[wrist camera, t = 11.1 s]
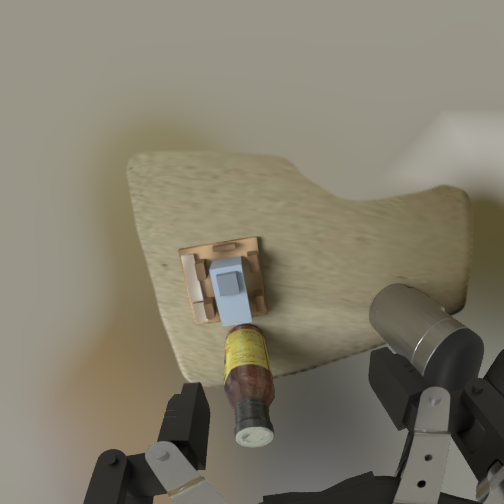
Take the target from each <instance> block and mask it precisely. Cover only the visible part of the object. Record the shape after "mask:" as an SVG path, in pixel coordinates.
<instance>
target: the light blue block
mask: <svg viewBox="0 0 504 504" xmlns="http://www.w3.org/2000/svg"><path fill="white" fill-rule="evenodd" d="M209 272H210V276H211V281H212V285H213V289H214V294H215V298H216V302H217V307H218V311H219V315H220V319H221V323H222V327H224V326H231V325H237V324H244V323H250V322H252V315H251V307H250V301H249V296H248V291H247V286H246V280H245V275H244V270H243V264H242V259H241V256H236V257H231V258H225V259H219V260H214V261H212V263H211V266H210V269H209Z"/></svg>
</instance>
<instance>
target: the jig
mask: <svg viewBox="0 0 504 504" xmlns="http://www.w3.org/2000/svg"><path fill="white" fill-rule="evenodd" d="M178 252H179V257H180V261H181V266H182V270H183V275H184V279H185V283H186V288H187V292H188V296H189V300H190V304H191V308H192V312H193V316H194V320H195V323H196V324H199V323H207V322H215V321H221V319H220V315H219V311H218V307H217V302H216V298H215V294H214V289H213V285H212V281H211V276H210V272H209V269H210V266H211V263H212V261H214V260H219V259H225V258H231V257H236V256H241V259H242V264H243V270H244V275H245V280H246V286H247V291H248V296H249V301H250V307H251V315H252V316H256V315H262V314H268V311H267V304H266V297H265V291H264V284H263V277H262V271H261V264H260V257H259V251H258V244H257V238H256V236H255V237H249V238H242V239H236V240H230V241H224V242H218V243H212V244H206V245H200V246H194V247H188V248H182V249H179V250H178Z"/></svg>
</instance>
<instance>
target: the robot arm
mask: <svg viewBox="0 0 504 504" xmlns="http://www.w3.org/2000/svg"><path fill="white" fill-rule="evenodd" d="M370 322H371V325H372V326H373V328H374V329H375V330H376V331H377V332H378V333H379V334H380V335H381V336H382V337H383V339H384V340H385V341H386V342H387V343H388V344H389V345H390V346H391V347H392V349H393V350H394V351H395V352H396V353H397V354H393V353H392V352H391V351H390V350H389V349H388V347H383V348H380V349H377V350H373V351H372V352H371V355H370V366H369V382H370V385H371V387H372V389H373V390H374V392H375V393H376V395H377V397H378V398H379V400H380V402H381V403H382V405H383V407H384V408H385V409H386V411H387V413H388V415H389V416H390V418H391V419H392V421H393V423H394V424H395V426H396V428H397V429H398V430H402V429H405V428H407V429H408V431H409V432H408V435H407V438H406V442H405V445H404V449H403V452H402V456H401V459H400V462H399V465H398V468H397V470H396V472H395V475H394V477H393V476H374V475H373V473H372V471H370V472H368V473H364V474H362V475H359V476H355V477H352V478H349V479H346V480H344V481H342V482H340V483H338V484H336V485H334V486H332V487H330V488H328V489H326V490H324V491H321V492H289V493H283V494H276V495H268V496H263V502H261V503H259V504H504V349H503V350H502V351H501V352H500V353H499V355H498V356H497V358H496V359H495V361H494V362H493V364H492V365H491V367H490V368H489V370H488V372H487V374H486V375H485V376H484V378H483V379H482V378H478V373H479V370H480V367H481V363H482V359H483V355H484V344H483V341H482V339H481V338H480V337H479V336H478V335H477V334H476V333H475V332H473V331H472V330H470V329H469V328H467V327H466V326H464V325H463V324H462V323H460V322H459V321H458V320H456V319H454V318H453V317H452V316H450V315H449V314H447V313H446V312H445V309H444V307H443V306H441V305H440V304H438V303H437V302H435V301H434V300H432V299H431V298H429V297H427V296H426V295H424V294H423V293H421V292H420V291H418V290H416V289H415V288H413V287H412V288H408V287H406V286H405V285H402V284H394V285H390V286H388V287H386V288H385V289H383V290H382V291H381V292H380V293H379V294H378V295H377V297H376V298H375V299H374V301H373V303H372V306H371V309H370ZM209 424H210V408H209V404H208V401H207V399H206V396H205V393H204V390H203V387H202V385H201V383H200V382H197V383H185V384H184V385H183V388H182V392H181V394H175V395H174V396H173V397H172V398H171V399H170V400H169V402H168V405H167V408H166V412H165V415H164V419H163V423H162V426H161V429H160V433H159V437H158V441H157V442H156V443H154V444H152V445H150V446H149V447H148V449H147V450H146V452H145V453H141V454H136V455H130V456H126V455H125V454H124V453H123V452H122V451H120V450H116V449H111V450H107V451H105V452H103V453H102V454H101V455H100V456H99V457H98V460H97V463H96V466H95V469H94V472H93V475H92V477H91V481H90V484H89V487H88V490H87V493H86V496H85V500H84V503H83V504H153V497H154V496H155V495H160V494H167V493H168V495H169V497H170V499H171V500H172V501H173V503H174V504H230V503H229V502H228V501H227V500H226V499H225V498H224V497H223V496H222V495H221V494H220V493H219V492H217V491H216V489H215V488H214V487H213V486H212V485H211V484H210V483H209V482H208V481H207V480H206V479H205V478H204V477H202V476H201V475H200V474H199V473H198V472H197V470H205V467H206V456H207V444H208V434H209ZM450 437H452V439H453V440H454V442H455V443H456V445H457V446H458V448H459V450H460V451H461V453H462V455H463V456H464V458H465V460H466V461H467V463H468V465H469V466H470V468H471V470H472V471H473V473H474V475H475V477H476V478H477V480H478V484H477V487H476V499H477V500H478V502H477V501H473V500H469V499H464V498H460V497H456V496H453V495H449V494H446V493H442V492H440V491H441V486H442V483H443V478H444V474H445V469H446V463H447V457H448V452H449V445H450Z"/></svg>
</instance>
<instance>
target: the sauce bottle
mask: <svg viewBox="0 0 504 504" xmlns="http://www.w3.org/2000/svg"><path fill="white" fill-rule="evenodd" d="M224 391H225V395H226V397H227V399H228V401H229V403H230V405H231V407H232V409H233V410H234V412H235V417H236V418H235V420H236V426H235V428H234V435H235V439H236V441H237V442H238V443H239V444H240V445H242V446H246V447H261V446H264V445H266V444H268V443H270V442H271V441H272V439H273V438H274V429H273V425H272V424H271V422H270V417H269V406H270V404H271V403H272V401H273V400H274V398H275V389H274V384H273V375H272V371H271V366H270V361H269V357H268V352H267V348H266V343H265V339H264V337H263V335H262V333H261V331H260V330H259V329H258V328H256V327H254V326H251V325H240V326H236V327H234V328H233V329H231V330H230V332H229V333H228V336H227V337H226V341H225V362H224Z"/></svg>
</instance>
